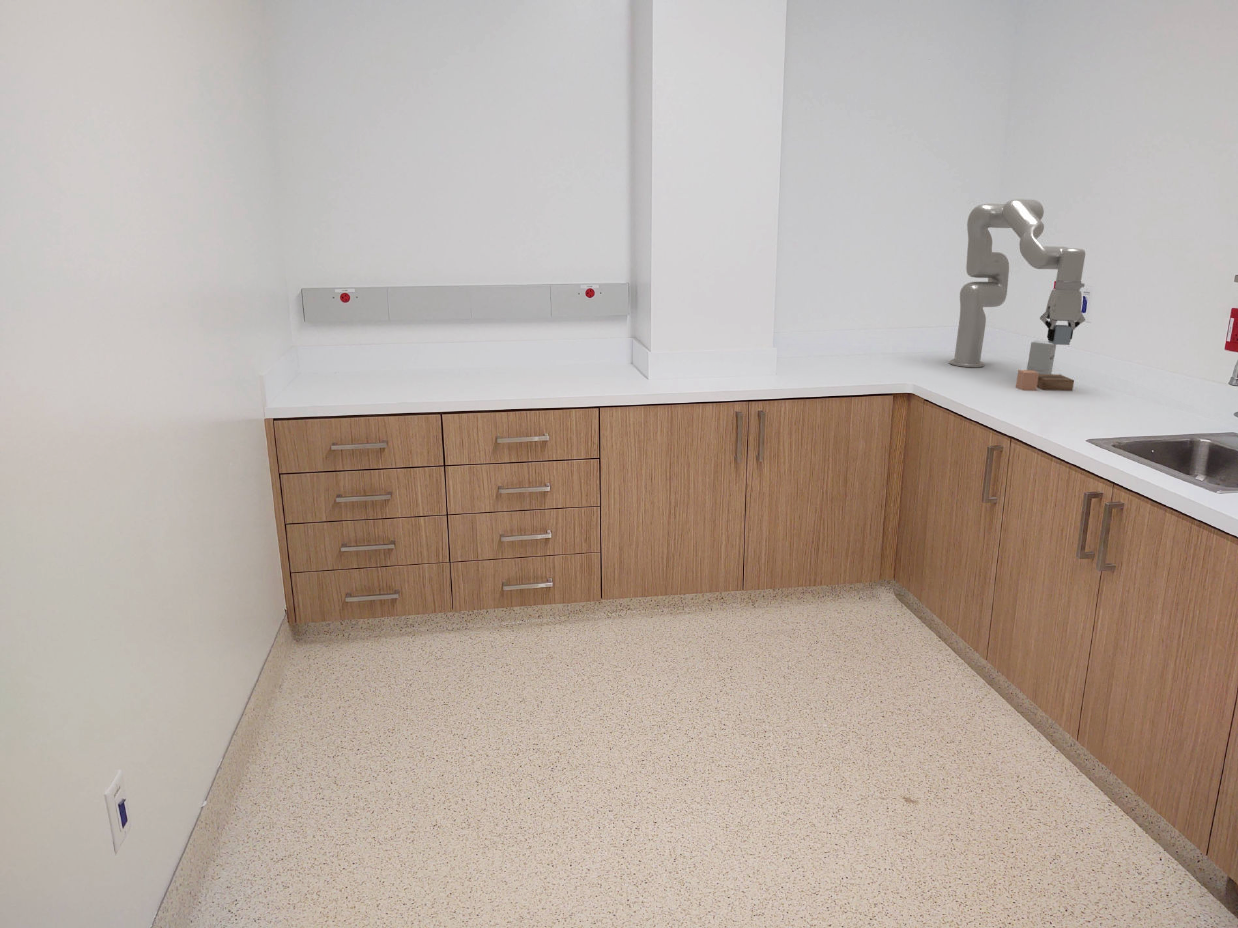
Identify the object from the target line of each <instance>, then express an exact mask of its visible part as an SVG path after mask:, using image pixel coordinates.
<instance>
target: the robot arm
mask: <svg viewBox="0 0 1238 928" xmlns="http://www.w3.org/2000/svg"><path fill="white" fill-rule="evenodd" d="M1044 210H1045V209H1044V207H1043V205H1042V203H1041V202H1040V201H1038V200H1036V199H1024V198H1023V199H1020V198H1018V199H1017V198H1016V199H1011V200H1008V201H1007V202H1005V203H982V204H980V205H979V204H978V205H977V206H976V207H974V208H973V209H972V210H971V212H970V213H969V215H968V217H967V223H966V228H967V230H966V231H967V240H968V241H967V252H966V253H967V255H966V265H965V268H966V269H965V270H966V274H967V275H968V276H969V277H970V278H975V279H987V281H971V282H967V283H965V284H963V286H962V287H961V289H960V292H959V303H960V305H959V306H960V308H959V310H960V311H959V320H958V329H957V335H956V336H957V337H956V342H955V343H956V344H955V351H954V359H950V360H949V364H950V365H952V366H956V367H963V368H983V367H985V362H983V361H982V360H981V359H982V351H983V345H984V338H985V330H986V325H987V324H986V322H987V317H986V316H987V315H986V313H985V310H984V308H997V307H1000V306H1001V305H1003V304H1004V302H1005V301H1006V299H1007V295H1008V285H1009V273H1010V263H1009V259H1008V256H1006V255H1005V254H1004V253H1002V252H997V251H994V252H993V238H992V234H991V232H990V231H989V228H990V229H996V228H997V229H1012V230H1013V232H1014V233H1015V234H1016V235H1017V237H1018V238H1019V243H1018V244H1019V251H1020V254H1021V257H1023V259H1024V260H1025V261H1026V262H1027V263H1028V265H1029V266H1031V267H1032V268H1034V269H1036V270H1057V272H1056V278H1055V279H1056V280H1055V285H1054V289H1051V291H1050V295H1049V297H1048V300H1047V304H1046V309H1045V311H1044V313H1043V314H1042V315H1040V316H1039V320H1040V321H1041V322H1042V323H1044V325H1045V326H1046V328H1047V336H1046V337H1047V341H1048V340H1049V341H1053V340H1054V334H1055V329H1054V327H1055V325H1057V322H1059V321H1060V322H1067V326H1070V327H1072V331H1071V338H1070V342H1071V340H1072V339H1073V334H1074V330H1075V329H1076V328H1078V327H1079V326H1080V325H1081V324H1083V323H1084V322H1086V318H1085V316H1084V315H1083V313H1082V302H1083V301H1082V291H1081V288H1084V287H1085V283H1084V282H1083V283H1082V277H1083V272H1084V267H1085V265H1084V264H1085V260H1086V259H1085V258H1086V251H1085V249H1082V248H1074V247H1073V248H1071V247H1070V248H1069V247H1065V246H1052V245H1051V246H1044V245H1041V243H1040V242H1039V241H1038V240H1037V239H1039V238H1040V236H1042V234H1043V232H1044V230H1045V224H1044V222H1043V221H1042V219H1043V217H1044V213H1045V211H1044Z"/></svg>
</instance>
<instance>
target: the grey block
mask: <svg viewBox="0 0 1238 928" xmlns="http://www.w3.org/2000/svg"><path fill="white" fill-rule="evenodd" d="M1054 329H1055V334H1054V340H1053V341H1049V340H1048V339H1047V341H1048V342H1049V343H1052V344H1056V346H1057V345H1063V346H1065V345H1066V346H1070V342H1071V341H1070V338H1071V331H1072V327H1070V326H1068V324H1056V325H1055V327H1054Z"/></svg>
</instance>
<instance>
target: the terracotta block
mask: <svg viewBox="0 0 1238 928" xmlns="http://www.w3.org/2000/svg"><path fill="white" fill-rule="evenodd" d="M1038 377H1039V373H1038V372H1036V371H1033V370H1027V369H1018V371H1017V377H1016V383H1015V388H1017V389H1018V388H1019V389H1018V390H1020V389H1021V390H1020V391H1037V389H1038V388H1037V383H1038Z"/></svg>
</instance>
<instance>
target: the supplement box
mask: <svg viewBox="0 0 1238 928" xmlns="http://www.w3.org/2000/svg"><path fill="white" fill-rule="evenodd" d="M1056 347H1057V345H1056V344H1052V343H1049V342H1048V340H1039V339H1038V340H1033V341H1031V342H1030V348H1029V355H1028V360H1027V366H1026V370H1033V371H1036V372H1038V373H1039V374H1052V371H1053V368H1054V367H1053V366H1054V361H1055V354H1056Z"/></svg>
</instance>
